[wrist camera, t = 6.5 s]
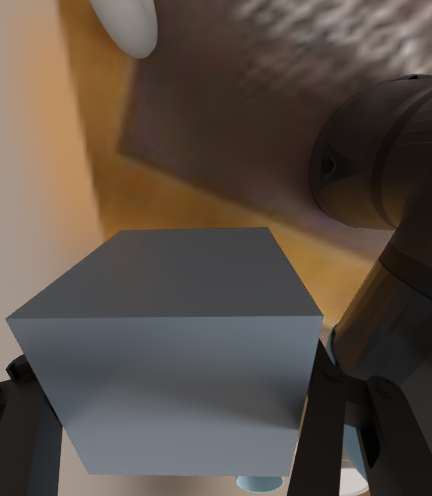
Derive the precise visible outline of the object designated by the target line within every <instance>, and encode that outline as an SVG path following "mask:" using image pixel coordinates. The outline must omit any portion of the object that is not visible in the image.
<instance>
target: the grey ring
mask: <svg viewBox="0 0 432 496" xmlns="http://www.w3.org/2000/svg"><path fill="white" fill-rule="evenodd" d="M89 1H90V3H91V5H92V7H93V9H94V11H95V13H96V15H97V16H98V18H99V20H100V21H101V23H102V25H103V26H104V28H105V30H106V31H107V33H108V34H109V36H110V37H111V38H112V39H113V41H114V42H115V43H116V45H117V46H118V47H119V48H120V49H121V50H122V51H124V52H125V53H127V54H128V55H130V56H132V57H134V58H137V59H141V58H145V57H147V56H149V54H150V53H151V52H152V51H153V50H154V48H155V46H156V43H157V34H158V25H157V17H156V11H155V6H154V1H153V0H89Z"/></svg>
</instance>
